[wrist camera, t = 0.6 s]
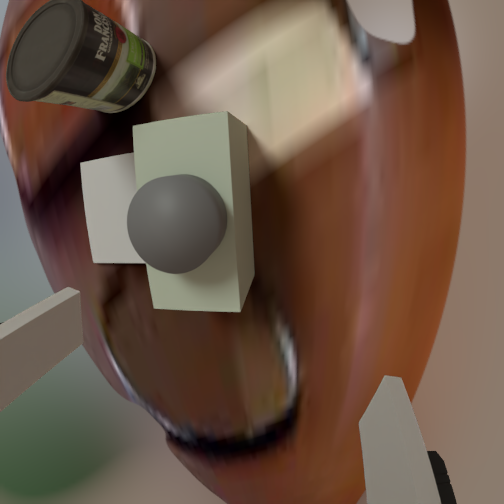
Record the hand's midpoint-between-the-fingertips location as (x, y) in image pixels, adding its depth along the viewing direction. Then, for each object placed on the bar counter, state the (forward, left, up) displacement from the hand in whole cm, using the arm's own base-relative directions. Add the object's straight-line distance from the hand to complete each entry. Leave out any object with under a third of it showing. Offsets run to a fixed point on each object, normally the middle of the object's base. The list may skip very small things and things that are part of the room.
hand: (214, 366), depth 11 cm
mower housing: (+7, -10, -22) cm, 25 cm away
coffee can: (0, -26, -22) cm, 35 cm away
